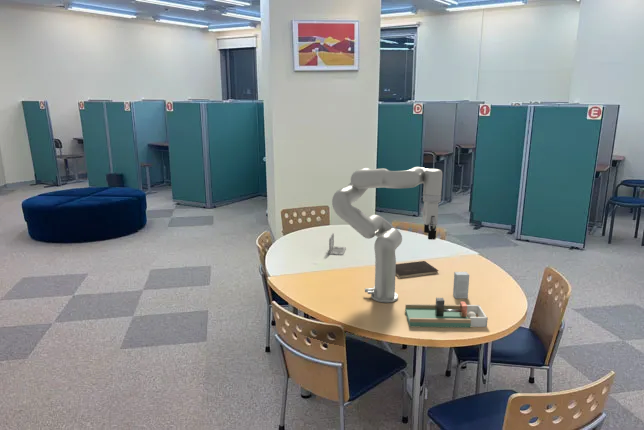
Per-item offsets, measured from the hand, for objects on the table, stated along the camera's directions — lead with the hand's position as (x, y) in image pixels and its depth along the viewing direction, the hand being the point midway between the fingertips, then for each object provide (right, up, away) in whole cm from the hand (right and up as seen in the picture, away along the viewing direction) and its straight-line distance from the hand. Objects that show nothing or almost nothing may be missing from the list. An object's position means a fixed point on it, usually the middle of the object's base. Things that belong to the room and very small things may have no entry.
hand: (429, 235), depth 203 cm
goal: (+18, -36, -5) cm, 40 cm away
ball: (+17, -34, -5) cm, 38 cm away
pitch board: (+2, -36, -4) cm, 36 cm away
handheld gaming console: (-38, -13, +81) cm, 90 cm away
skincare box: (+19, -30, +18) cm, 39 cm away
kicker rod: (+8, -33, -5) cm, 35 cm away
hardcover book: (+2, -22, +50) cm, 55 cm away
